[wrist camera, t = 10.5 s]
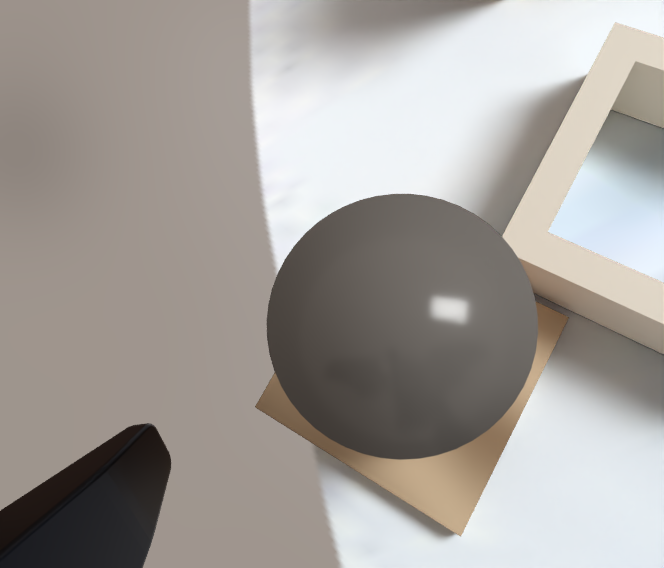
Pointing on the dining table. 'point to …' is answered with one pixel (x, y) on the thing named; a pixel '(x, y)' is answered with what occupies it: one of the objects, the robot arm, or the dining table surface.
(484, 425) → the jar
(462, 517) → the coaster
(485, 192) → the dining table surface
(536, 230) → the holder
